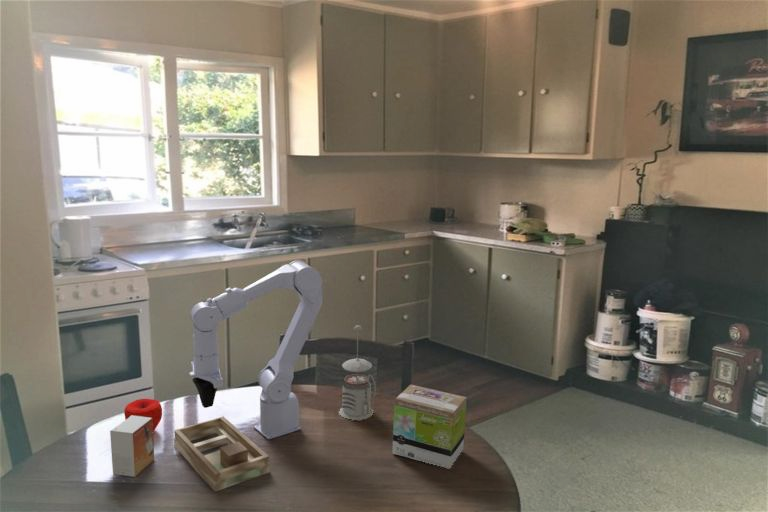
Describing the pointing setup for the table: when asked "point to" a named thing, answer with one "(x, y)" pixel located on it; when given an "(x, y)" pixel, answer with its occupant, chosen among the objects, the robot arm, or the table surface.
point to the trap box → (204, 453)
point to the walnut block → (233, 454)
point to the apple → (145, 410)
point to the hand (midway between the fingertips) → (207, 406)
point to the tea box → (429, 425)
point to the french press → (360, 405)
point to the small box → (132, 445)
